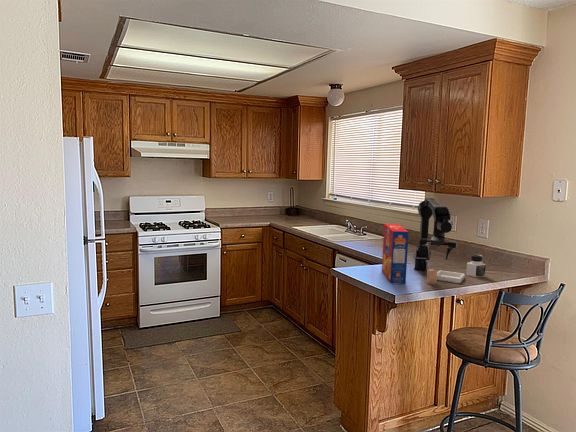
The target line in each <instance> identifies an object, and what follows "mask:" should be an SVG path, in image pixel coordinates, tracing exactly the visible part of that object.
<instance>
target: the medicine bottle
mask: <svg viewBox="0 0 576 432" xmlns="http://www.w3.org/2000/svg"><path fill="white" fill-rule="evenodd" d="M470 256H471V257H470V262H467V263H466V273H465V274H466V275H467V276H470V277H473V278H482V277H485V276H486V267H487V266H486V265H487V264H486V263H483V255H481V254H472V255H470Z"/></svg>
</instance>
